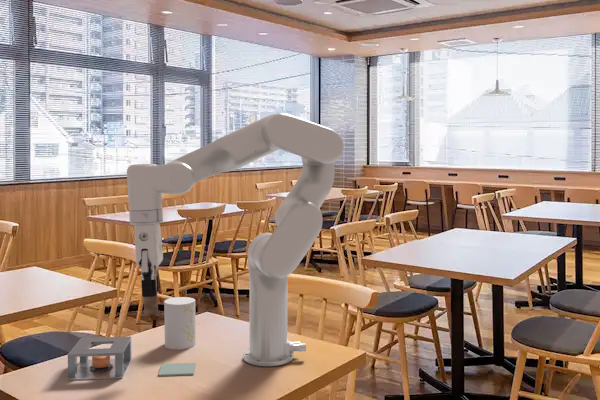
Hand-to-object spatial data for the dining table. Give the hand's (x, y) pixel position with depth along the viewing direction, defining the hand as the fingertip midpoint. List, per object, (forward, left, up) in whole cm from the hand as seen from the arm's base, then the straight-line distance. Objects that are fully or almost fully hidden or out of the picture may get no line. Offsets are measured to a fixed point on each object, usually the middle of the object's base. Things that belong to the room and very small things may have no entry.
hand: (150, 293), depth 140 cm
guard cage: (+12, -1, -18) cm, 22 cm away
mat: (-6, +1, -18) cm, 19 cm away
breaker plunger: (+12, -1, -17) cm, 21 cm away
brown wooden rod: (0, 0, -5) cm, 5 cm away
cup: (-5, -18, -19) cm, 26 cm away
